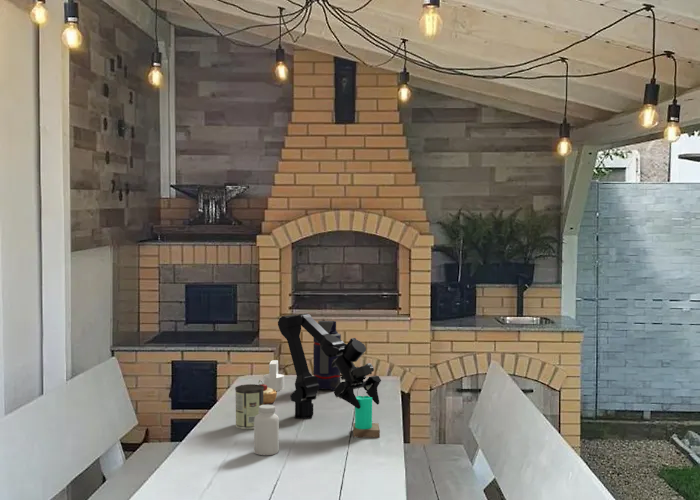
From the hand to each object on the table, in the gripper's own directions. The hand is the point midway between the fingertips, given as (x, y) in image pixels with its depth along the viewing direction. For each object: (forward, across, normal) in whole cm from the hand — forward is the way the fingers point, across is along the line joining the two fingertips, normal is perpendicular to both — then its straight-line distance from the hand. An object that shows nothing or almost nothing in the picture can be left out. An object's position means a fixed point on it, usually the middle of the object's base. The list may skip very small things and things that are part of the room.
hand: (369, 405), depth 280 cm
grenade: (-38, +36, +52) cm, 74 cm away
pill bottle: (+2, -39, +12) cm, 41 cm away
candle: (+4, -1, +7) cm, 8 cm away
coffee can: (-19, -24, +33) cm, 45 cm away
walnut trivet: (+6, 0, +8) cm, 10 cm away
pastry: (-36, 0, +51) cm, 63 cm away
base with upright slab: (-48, +18, +62) cm, 81 cm away
